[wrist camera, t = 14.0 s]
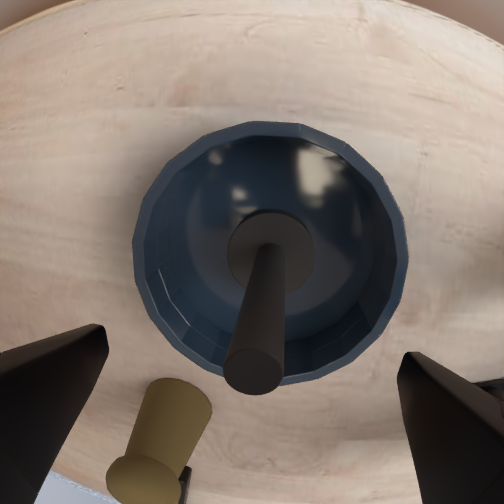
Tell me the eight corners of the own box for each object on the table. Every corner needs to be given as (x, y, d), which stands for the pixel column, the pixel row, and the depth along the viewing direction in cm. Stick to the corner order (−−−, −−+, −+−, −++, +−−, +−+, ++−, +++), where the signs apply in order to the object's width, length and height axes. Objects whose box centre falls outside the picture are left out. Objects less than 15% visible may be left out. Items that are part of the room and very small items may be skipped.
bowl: (393, 143, 17) (422, 139, 13) (362, 350, 21) (376, 388, 17) (163, 130, 18) (131, 124, 14) (167, 334, 22) (145, 369, 18)
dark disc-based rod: (317, 212, 18) (367, 293, 7) (308, 290, 20) (328, 438, 8) (232, 205, 19) (153, 275, 7) (230, 284, 20) (169, 421, 9)
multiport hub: (192, 467, 27) (187, 483, 25) (184, 513, 32) (180, 525, 29) (152, 455, 27) (146, 470, 25) (154, 504, 32) (149, 515, 30)
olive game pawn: (143, 370, 24) (83, 467, 13) (213, 386, 23) (177, 500, 13) (148, 417, 26) (104, 506, 15) (210, 432, 25) (182, 532, 15)
